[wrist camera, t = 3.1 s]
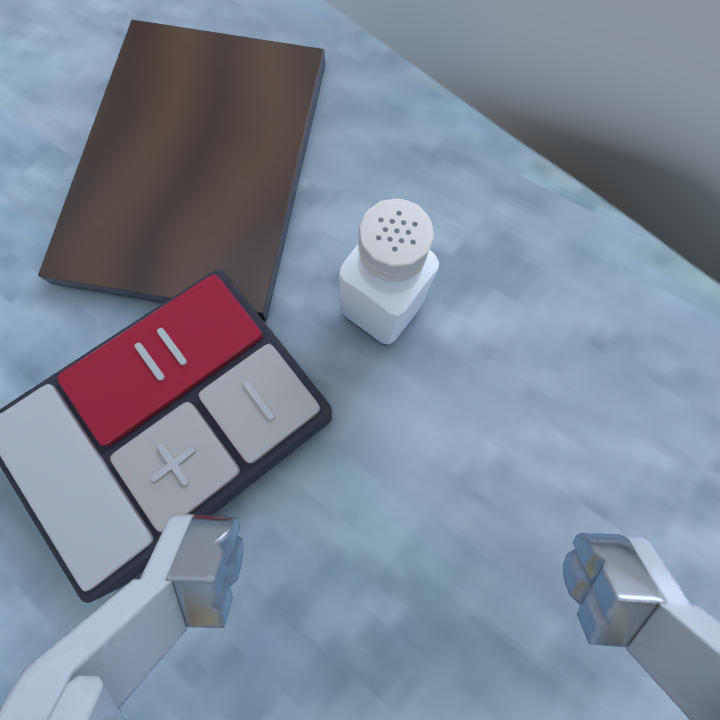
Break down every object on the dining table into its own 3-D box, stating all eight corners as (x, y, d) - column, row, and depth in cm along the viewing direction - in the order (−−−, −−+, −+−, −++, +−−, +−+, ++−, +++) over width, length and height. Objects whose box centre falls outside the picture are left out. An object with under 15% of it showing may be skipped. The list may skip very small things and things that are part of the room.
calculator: (335, 409, 23) (74, 613, 20) (335, 419, 27) (119, 589, 24) (216, 258, 25) (-39, 423, 22) (233, 290, 29) (21, 432, 26)
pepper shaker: (337, 313, 27) (330, 238, 18) (375, 267, 28) (387, 172, 19) (388, 351, 27) (407, 293, 18) (425, 303, 28) (462, 223, 18)
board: (50, 283, 27) (37, 275, 26) (139, 35, 32) (131, 19, 31) (266, 319, 27) (263, 313, 26) (325, 63, 32) (324, 48, 31)
